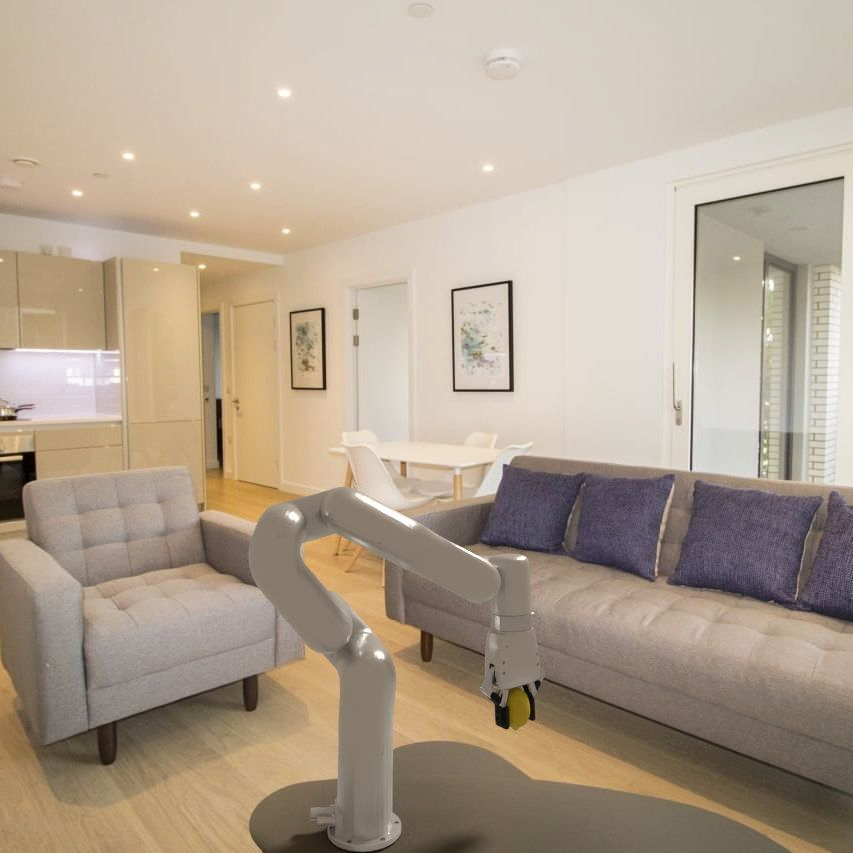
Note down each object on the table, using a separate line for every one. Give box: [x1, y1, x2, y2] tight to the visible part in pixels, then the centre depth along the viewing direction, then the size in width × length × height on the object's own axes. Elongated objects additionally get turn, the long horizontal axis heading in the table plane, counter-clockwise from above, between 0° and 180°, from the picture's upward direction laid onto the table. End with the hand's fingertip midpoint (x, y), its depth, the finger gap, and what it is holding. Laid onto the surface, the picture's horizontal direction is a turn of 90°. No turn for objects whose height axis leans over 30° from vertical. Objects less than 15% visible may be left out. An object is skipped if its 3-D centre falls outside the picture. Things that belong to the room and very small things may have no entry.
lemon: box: [506, 687, 530, 731], centre depth 117 cm, size 6×6×8 cm
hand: (515, 721), depth 117 cm, fingers closed on lemon, 5 cm apart
